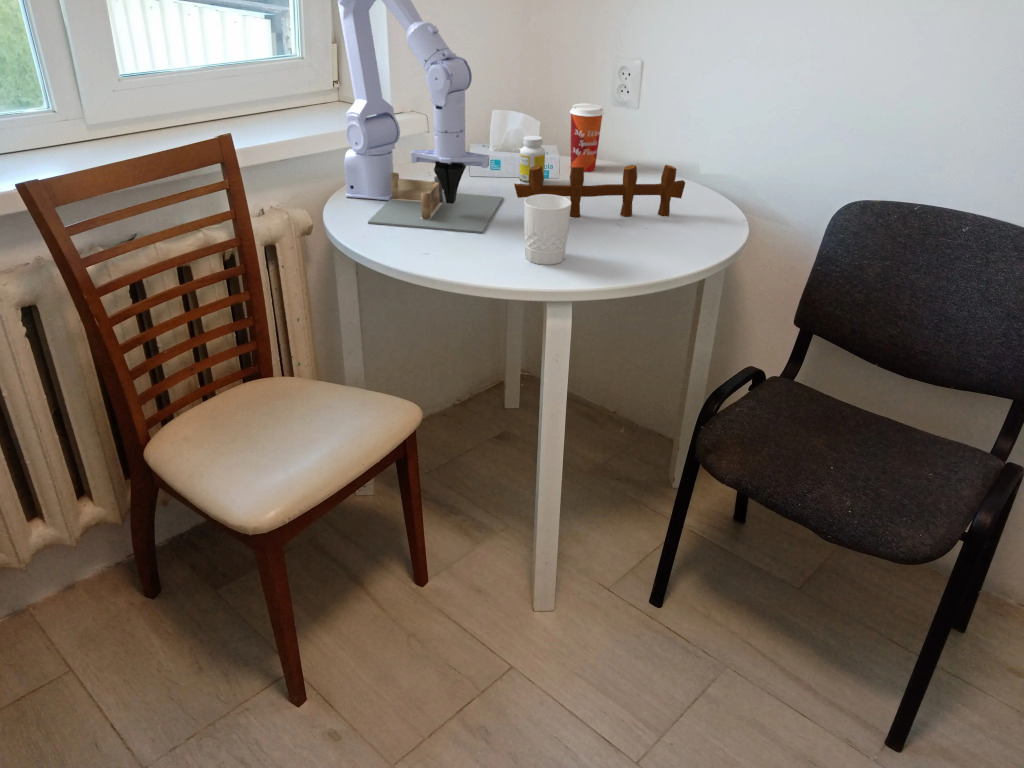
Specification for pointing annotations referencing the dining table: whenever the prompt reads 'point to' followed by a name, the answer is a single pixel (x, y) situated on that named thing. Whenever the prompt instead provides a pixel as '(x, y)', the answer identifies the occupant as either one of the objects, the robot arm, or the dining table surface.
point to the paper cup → (585, 135)
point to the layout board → (441, 213)
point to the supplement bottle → (531, 157)
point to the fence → (605, 188)
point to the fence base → (412, 188)
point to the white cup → (546, 228)
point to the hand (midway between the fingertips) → (450, 201)
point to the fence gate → (429, 200)
